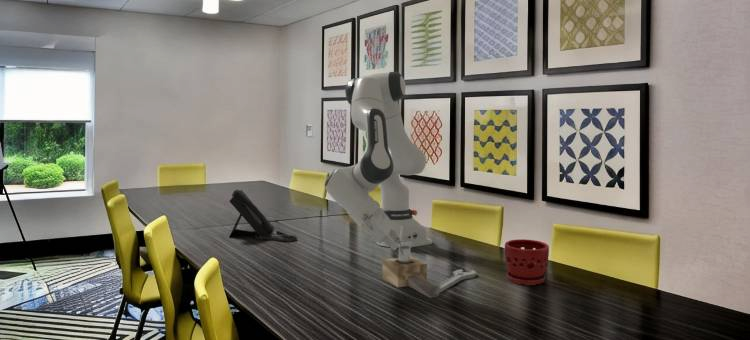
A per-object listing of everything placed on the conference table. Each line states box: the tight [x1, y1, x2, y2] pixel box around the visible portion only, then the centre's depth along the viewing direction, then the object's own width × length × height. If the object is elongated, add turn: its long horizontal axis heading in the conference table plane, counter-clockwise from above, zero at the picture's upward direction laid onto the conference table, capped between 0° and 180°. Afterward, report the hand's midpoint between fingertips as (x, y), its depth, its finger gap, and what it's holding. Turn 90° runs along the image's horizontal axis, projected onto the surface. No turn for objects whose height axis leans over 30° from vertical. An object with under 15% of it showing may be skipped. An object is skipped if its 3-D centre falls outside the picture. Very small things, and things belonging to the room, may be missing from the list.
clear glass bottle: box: [397, 241, 412, 265], centre depth 165 cm, size 4×4×10 cm
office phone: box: [228, 189, 298, 243], centre depth 229 cm, size 29×28×20 cm
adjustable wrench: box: [437, 269, 477, 294], centre depth 165 cm, size 25×6×2 cm, turn 142°
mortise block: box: [381, 256, 440, 299], centre depth 160 cm, size 10×22×6 cm, turn 27°
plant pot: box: [504, 239, 550, 286], centre depth 166 cm, size 13×13×12 cm
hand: (397, 244), depth 165 cm, fingers open, 8 cm apart
